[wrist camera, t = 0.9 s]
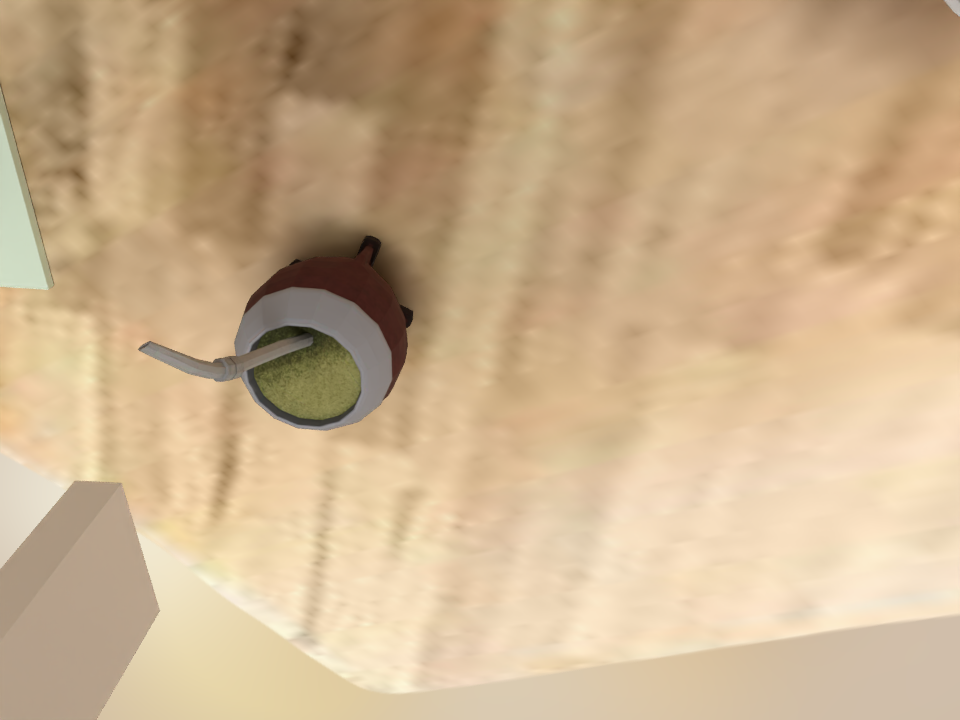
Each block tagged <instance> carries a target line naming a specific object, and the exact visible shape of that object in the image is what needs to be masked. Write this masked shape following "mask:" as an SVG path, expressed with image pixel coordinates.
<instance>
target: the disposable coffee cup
mask: <svg viewBox="0 0 960 720" xmlns="http://www.w3.org/2000/svg"><path fill="white" fill-rule="evenodd" d="M944 2H945V3H946V4H947V5H948V6H949V8H950V9H951V10H952V11H953V12H954V13H956V14H957V15H958V16H959V17H960V0H944Z"/></svg>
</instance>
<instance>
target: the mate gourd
mask: <svg viewBox="0 0 960 720" xmlns="http://www.w3.org/2000/svg"><path fill="white" fill-rule="evenodd" d="M380 245H381V242H380V240H379V239H376V238H374V237H372V236H366V237H365V239H364V241H363V243H362V245H361V247H360V250H359V252H358V255H357V256H356V257H355V258H354V259H353V258H348V257H314V258H311V259H308V260H305V261H300V260H298V259H296V260H295V261H294V262H292V263H291V264H290V265H289V266H287V267H285V268H282V269H280V270H279V271H278V272H277V273H276V274H274V275H273V276H272V277H271V278H270V279H269V280H268V281H267V282H266V283H265V284H263V285H262V286H261V287H260V288H259V289H258V290H257V291H256V292H255V293H254V294H253V295H252V296H251V298H250V300H249V301H248V303H247V306H246V309H245V312H244V315H243V317H242V320H241V323H240V326H239V329H238V332H237V335H236V338H235V342H234V344H235V351H236V356H228V357H224V358H219V359H215V360H214V361H213V363H212V362H208V361H203V360H199V359H195V358H193V357H190V356H187V355H185V354H182V353H180V352H177V351H174V350H172V349H169V348H167V347H164V346H161V345H159V344H156V343H154V342H151V341H149V342H147V343H145V344H143V345H142V346H141V347H140V348H139V349H138V350H139V351H141V352H143V353H145V354H147V355H149V356H151V357H153V358H155V359H158V360H160V361H162V362H164V363H166V364H168V365H171V366H173V367H175V368H177V369H179V370H181V371H183V372H186V373H188V374H191V375H195V376H200V377H204V378H208V379H214V380H215V381H219V382H224V381H229V380H233V379H236V378H239V377H241V378H242V380H243V382H244V384H245V385H246V387H247V389H248V390H249V392H250V394H251V396H252V397H253V399H254V401H255V402H256V403H257V404H258V405H259V406H261V407H262V408H263V409H264V410H265V411H266V412H268V413H269V414H270V415H271V416H272V417H273V418H275V419H277V420H279V421H282V422H284V423H286V424H289V425H291V426H294V427H296V428H301V429H312V430H331V429H335V428H338V427H342V426H346V425H350V424H353V423H356V422H359V421H360V420H362V419H363V418H364V417H366V416H367V415H368V414H369V413H371V412H372V411H373V410H374V409H376V408H377V407H378V406H379V405H381V403H382V401H383V400H384V399H385V398H386V397H387V396H388V395H389V394H390V392H391V390H392V388H393V387H394V384H395V382H396V380H397V378H398V376H399V374H400V371H401V369H402V367H403V365H404V363H405V359H406V354H407V347H408V343H407V333H406V328H408V327H409V326H410V324H411V322H412V320H413V311H412V310H410V309H408V308H406V307H404V306H402V305H400V304H399V303H398V301H397V299H396V297H395V295H394V293H393V290H392V288H391V287H390V286H389V285H388V284H387V283H386V282H385V281H384V279H383V278H382V277H381V276H380V275H379V274H378V273H377V272H376V271H375V270H374V269H373V268H372V266H373V264H374V261H375V259H376V256H377V254H378V251H379V248H380Z"/></svg>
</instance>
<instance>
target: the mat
mask: <svg viewBox="0 0 960 720" xmlns="http://www.w3.org/2000/svg"><path fill="white" fill-rule="evenodd" d="M53 286H54V284H53V280H52V276H51V272H50V269H49V265H48V261H47V258H46V254H45V250H44V246H43V243H42V239H41V235H40V232H39V228H38V224H37V220H36V217H35V213H34V209H33V206H32V202H31V198H30V194H29V191H28V187H27V183H26V179H25V176H24V172H23V168H22V165H21V161H20V157H19V153H18V150H17V146H16V142H15V139H14V135H13V131H12V127H11V124H10V120H9V116H8V113H7V109H6V105H5V101H4V98H3V94H2V90H1V87H0V287H13V288H30V289H46V290H49V289H50V288H51V287H53Z"/></svg>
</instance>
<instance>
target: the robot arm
mask: <svg viewBox="0 0 960 720" xmlns="http://www.w3.org/2000/svg"><path fill="white" fill-rule="evenodd" d="M159 611H160V610H159V607H158V603H157V600H156V597H155V593H154V590H153V586H152V583H151V580H150V576H149V573H148V570H147V566H146V563H145V560H144V556H143V553H142V550H141V546H140V543H139V540H138V536H137V533H136V529H135V526H134V523H133V519H132V516H131V513H130V509H129V506H128V503H127V499H126V496H125V493H124V489H123V486H122V483H111V482H92V481H74V483H73V484H72V485H71V486H70V487H69V489H68V490H67V491H66V492H65V493H64V495H63V496H62V497H61V498H60V499H59V500H58V502H57V503H56V504H55V505H54V506H53V508H52V509H51V510H50V511H49V512H48V514H47V515H46V516H45V517H44V518H43V519H42V521H41V522H40V523H39V524H38V525H37V526H36V528H35V529H34V530H33V531H32V532H31V534H30V535H29V536H28V537H27V538H26V540H25V541H24V542H23V543H22V544H21V546H20V547H19V548H18V549H17V550H16V552H15V553H14V554H13V555H12V556H11V557H10V559H9V560H8V561H7V562H6V563H5V565H4V566H3V567H2V568H1V569H0V720H97V718H98V716H99V714H100V713H101V711H102V709H103V708H104V706H105V704H106V702H107V701H108V699H109V697H110V696H111V694H112V692H113V690H114V688H115V687H116V685H117V684H118V682H119V680H120V678H121V677H122V675H123V673H124V672H125V670H126V668H127V666H128V665H129V663H130V661H131V659H132V658H133V656H134V654H135V653H136V651H137V649H138V647H139V646H140V644H141V642H142V641H143V639H144V637H145V635H146V634H147V632H148V630H149V629H150V627H151V625H152V623H153V622H154V620H155V618H156V616H157V615H158V613H159Z"/></svg>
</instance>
